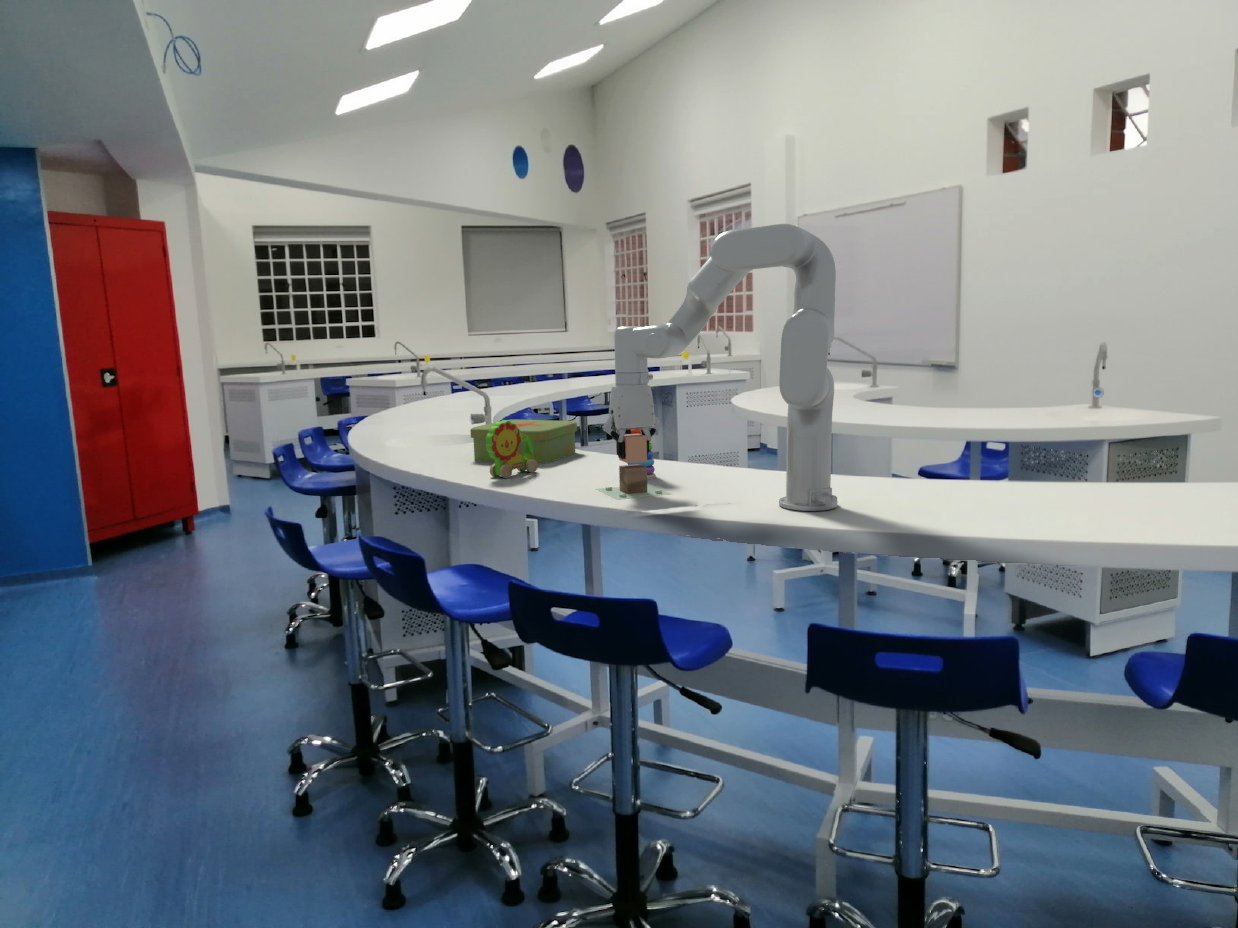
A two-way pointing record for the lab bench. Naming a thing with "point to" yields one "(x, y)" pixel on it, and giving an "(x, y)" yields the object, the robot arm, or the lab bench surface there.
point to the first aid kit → (533, 439)
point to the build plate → (618, 494)
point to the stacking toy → (649, 459)
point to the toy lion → (509, 450)
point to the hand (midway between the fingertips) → (633, 456)
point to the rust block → (635, 448)
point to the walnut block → (633, 478)
